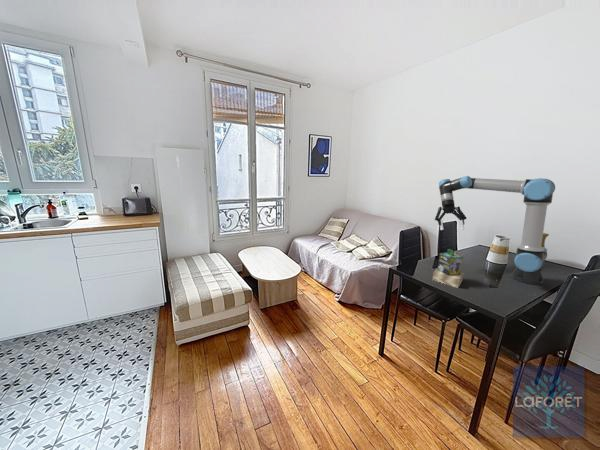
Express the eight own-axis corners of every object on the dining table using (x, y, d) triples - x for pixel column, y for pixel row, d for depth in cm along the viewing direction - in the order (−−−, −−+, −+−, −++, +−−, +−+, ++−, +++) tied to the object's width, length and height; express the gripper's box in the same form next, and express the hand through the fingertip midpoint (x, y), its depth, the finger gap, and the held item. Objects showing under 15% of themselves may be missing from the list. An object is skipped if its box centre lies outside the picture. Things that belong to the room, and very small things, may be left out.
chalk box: (460, 274, 149) (464, 251, 146) (448, 275, 147) (451, 252, 144) (448, 268, 158) (452, 247, 155) (436, 269, 156) (439, 247, 153)
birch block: (462, 281, 154) (464, 272, 153) (457, 288, 144) (459, 279, 143) (438, 274, 164) (439, 266, 162) (432, 281, 154) (433, 272, 152)
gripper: (462, 202, 175) (467, 230, 169) (427, 202, 176) (431, 231, 171) (469, 198, 167) (474, 228, 162) (431, 199, 169) (436, 228, 163)
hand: (452, 229), depth 166 cm, fingers open, 13 cm apart
